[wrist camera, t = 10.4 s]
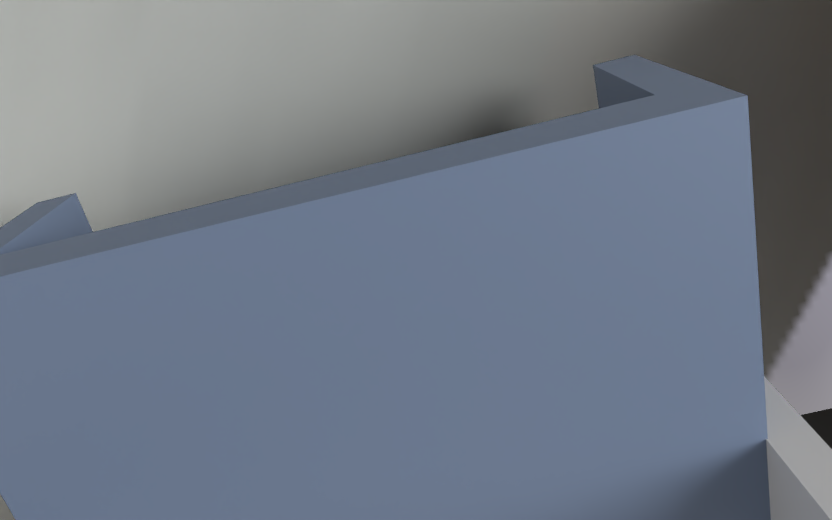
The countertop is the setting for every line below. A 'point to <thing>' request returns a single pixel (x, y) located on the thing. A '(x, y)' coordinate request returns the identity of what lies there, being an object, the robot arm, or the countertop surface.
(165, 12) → the countertop surface
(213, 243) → the lid
